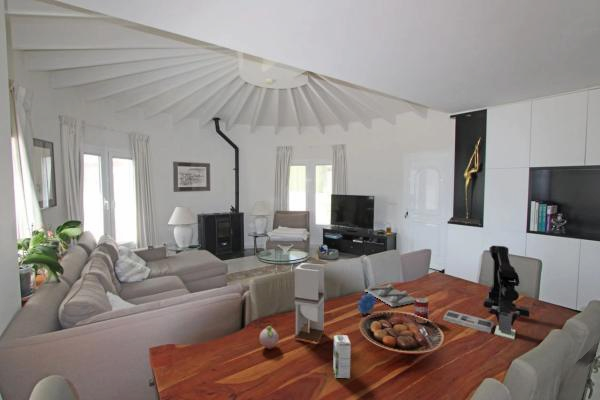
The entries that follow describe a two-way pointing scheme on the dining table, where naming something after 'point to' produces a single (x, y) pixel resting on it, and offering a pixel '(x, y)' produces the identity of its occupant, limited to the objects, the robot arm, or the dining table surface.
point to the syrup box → (341, 356)
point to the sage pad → (505, 333)
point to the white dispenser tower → (309, 301)
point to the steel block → (505, 322)
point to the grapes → (366, 303)
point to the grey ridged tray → (390, 295)
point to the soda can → (421, 307)
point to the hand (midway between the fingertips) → (505, 323)
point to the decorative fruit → (268, 337)
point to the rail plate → (478, 322)
